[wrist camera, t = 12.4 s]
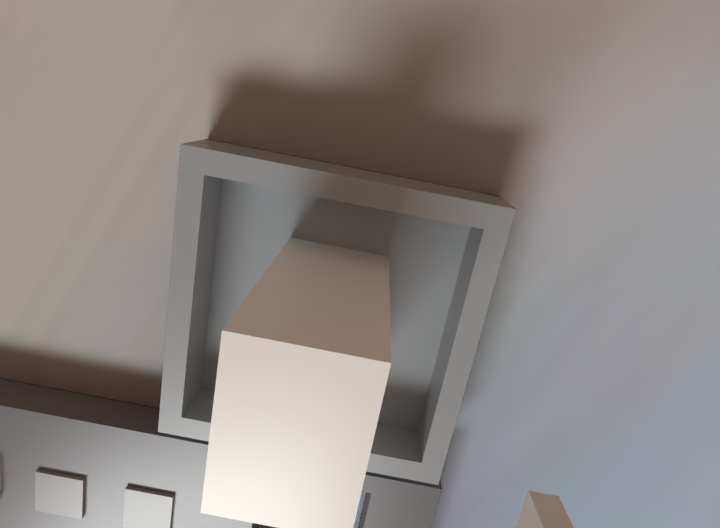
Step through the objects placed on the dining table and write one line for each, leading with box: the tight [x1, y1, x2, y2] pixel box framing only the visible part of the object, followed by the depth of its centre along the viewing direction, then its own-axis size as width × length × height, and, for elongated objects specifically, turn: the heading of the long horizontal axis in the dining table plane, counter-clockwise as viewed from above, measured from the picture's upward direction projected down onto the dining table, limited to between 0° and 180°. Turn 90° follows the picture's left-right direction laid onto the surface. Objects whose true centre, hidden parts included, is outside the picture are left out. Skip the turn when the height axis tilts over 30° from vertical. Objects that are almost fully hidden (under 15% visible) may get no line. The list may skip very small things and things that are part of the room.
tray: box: [158, 139, 516, 485], centre depth 23 cm, size 13×13×3 cm
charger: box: [200, 237, 391, 528], centre depth 19 cm, size 4×6×10 cm
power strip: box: [0, 379, 442, 528], centre depth 27 cm, size 24×9×3 cm, turn 79°
